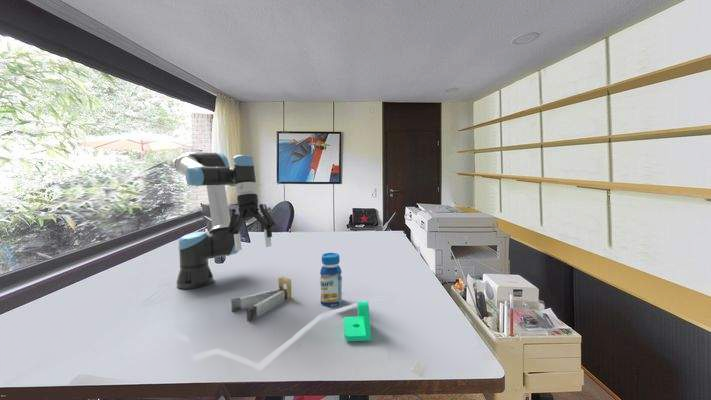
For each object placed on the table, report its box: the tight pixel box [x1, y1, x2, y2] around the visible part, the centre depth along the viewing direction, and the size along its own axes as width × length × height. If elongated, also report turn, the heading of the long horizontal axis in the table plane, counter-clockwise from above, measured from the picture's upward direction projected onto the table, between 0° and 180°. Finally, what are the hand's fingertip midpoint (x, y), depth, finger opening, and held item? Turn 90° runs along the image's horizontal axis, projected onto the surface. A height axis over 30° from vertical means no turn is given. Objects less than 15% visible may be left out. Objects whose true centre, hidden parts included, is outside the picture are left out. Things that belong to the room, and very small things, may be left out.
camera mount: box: [343, 300, 372, 342], centre depth 94 cm, size 12×8×10 cm, turn 5°
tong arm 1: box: [230, 287, 280, 312], centre depth 112 cm, size 18×2×4 cm, turn 126°
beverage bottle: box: [319, 252, 343, 310], centre depth 113 cm, size 8×8×20 cm
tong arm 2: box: [246, 290, 286, 322], centre depth 107 cm, size 18×2×4 cm, turn 154°
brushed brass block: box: [277, 276, 293, 302], centre depth 117 cm, size 6×2×8 cm, turn 50°
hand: (253, 248), depth 114 cm, fingers open, 13 cm apart
